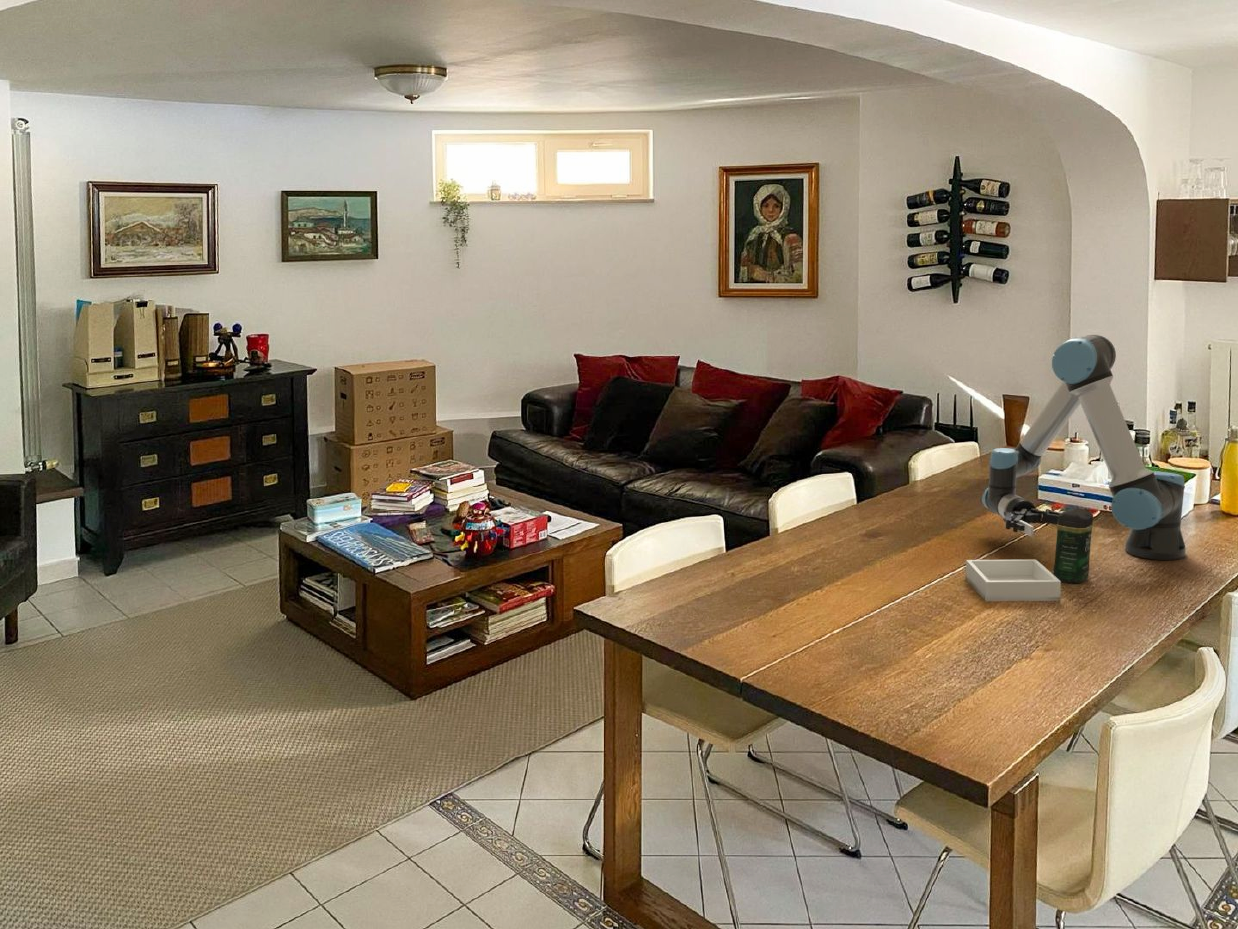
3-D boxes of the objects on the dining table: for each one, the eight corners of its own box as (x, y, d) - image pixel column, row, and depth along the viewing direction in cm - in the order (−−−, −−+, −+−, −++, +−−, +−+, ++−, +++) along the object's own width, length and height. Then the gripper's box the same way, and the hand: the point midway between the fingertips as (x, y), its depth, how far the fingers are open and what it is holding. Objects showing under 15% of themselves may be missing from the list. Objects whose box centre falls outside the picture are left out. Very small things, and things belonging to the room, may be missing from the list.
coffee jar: (1080, 586, 273) (1086, 516, 269) (1049, 580, 278) (1053, 511, 274) (1092, 576, 280) (1097, 508, 277) (1061, 571, 285) (1066, 503, 282)
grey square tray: (1034, 577, 281) (1035, 559, 280) (1059, 600, 263) (1060, 581, 262) (965, 578, 282) (966, 560, 281) (985, 601, 264) (986, 582, 263)
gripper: (1057, 520, 307) (1099, 541, 287) (975, 525, 305) (1011, 546, 284) (1059, 495, 306) (1101, 514, 285) (976, 499, 303) (1012, 519, 282)
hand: (1056, 530), depth 285 cm, fingers open, 13 cm apart
